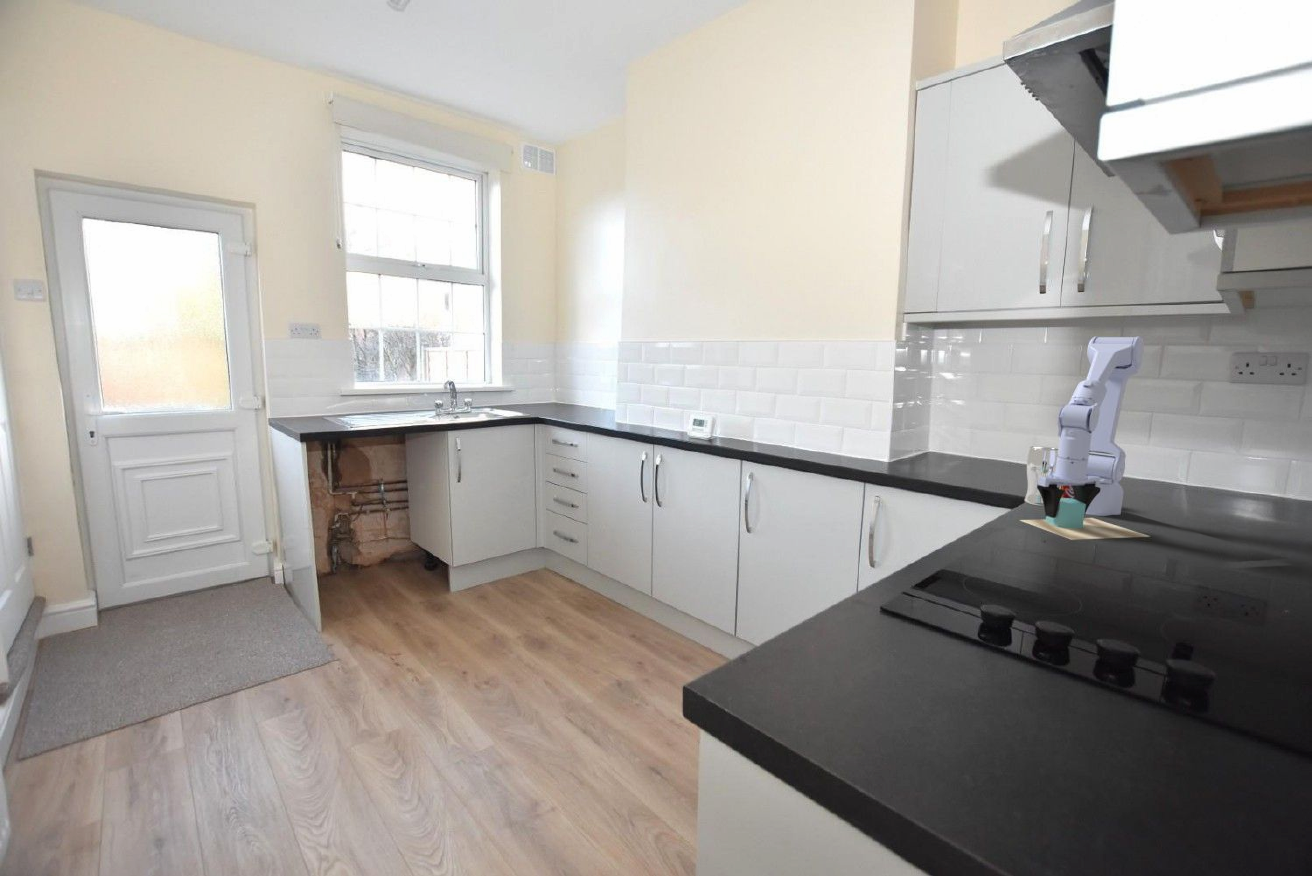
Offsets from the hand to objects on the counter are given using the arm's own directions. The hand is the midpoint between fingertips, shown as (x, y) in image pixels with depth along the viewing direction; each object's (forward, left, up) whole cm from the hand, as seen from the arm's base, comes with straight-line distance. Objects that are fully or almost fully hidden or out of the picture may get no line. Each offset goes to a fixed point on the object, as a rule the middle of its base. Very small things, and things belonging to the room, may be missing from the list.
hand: (1064, 516), depth 134 cm
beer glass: (-13, -21, -3) cm, 25 cm away
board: (-2, +3, -3) cm, 5 cm away
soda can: (-23, -23, -3) cm, 33 cm away
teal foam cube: (0, 0, -2) cm, 2 cm away
